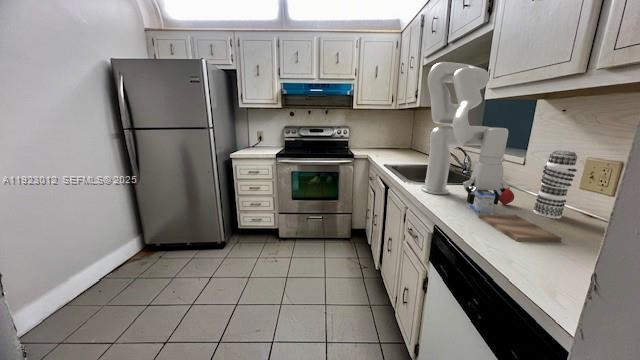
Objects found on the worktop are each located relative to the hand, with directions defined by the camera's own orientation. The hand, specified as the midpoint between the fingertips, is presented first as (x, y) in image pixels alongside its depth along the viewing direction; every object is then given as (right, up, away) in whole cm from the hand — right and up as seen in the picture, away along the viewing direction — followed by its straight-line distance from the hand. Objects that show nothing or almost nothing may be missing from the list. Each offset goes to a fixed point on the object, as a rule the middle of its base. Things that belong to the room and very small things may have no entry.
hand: (481, 203), depth 100 cm
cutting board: (+2, -7, -14) cm, 16 cm away
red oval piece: (+16, -2, +9) cm, 18 cm away
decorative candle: (+26, -4, 0) cm, 26 cm away
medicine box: (0, -3, +1) cm, 4 cm away
